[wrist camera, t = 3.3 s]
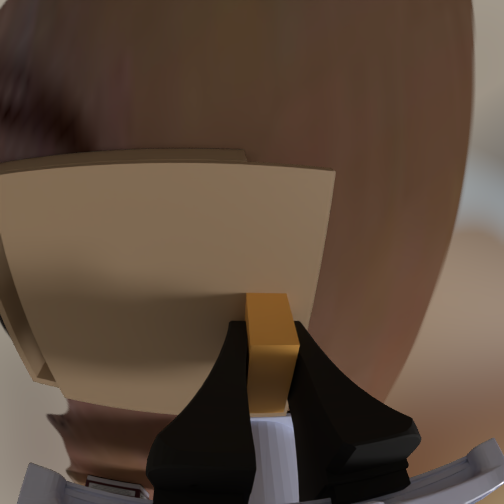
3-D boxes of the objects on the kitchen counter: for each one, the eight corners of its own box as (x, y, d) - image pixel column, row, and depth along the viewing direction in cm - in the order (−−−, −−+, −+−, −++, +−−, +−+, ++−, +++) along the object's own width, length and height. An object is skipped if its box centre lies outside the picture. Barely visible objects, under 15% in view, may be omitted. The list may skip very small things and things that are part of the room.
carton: (233, 372, 19) (234, 407, 17) (48, 353, 18) (33, 381, 16) (244, 149, 13) (246, 161, 11) (-4, 163, 12) (-37, 178, 9)
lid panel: (284, 408, 17) (292, 458, 14) (67, 390, 16) (51, 433, 13) (330, 168, 11) (370, 196, 8) (-2, 172, 10) (-56, 199, 6)
